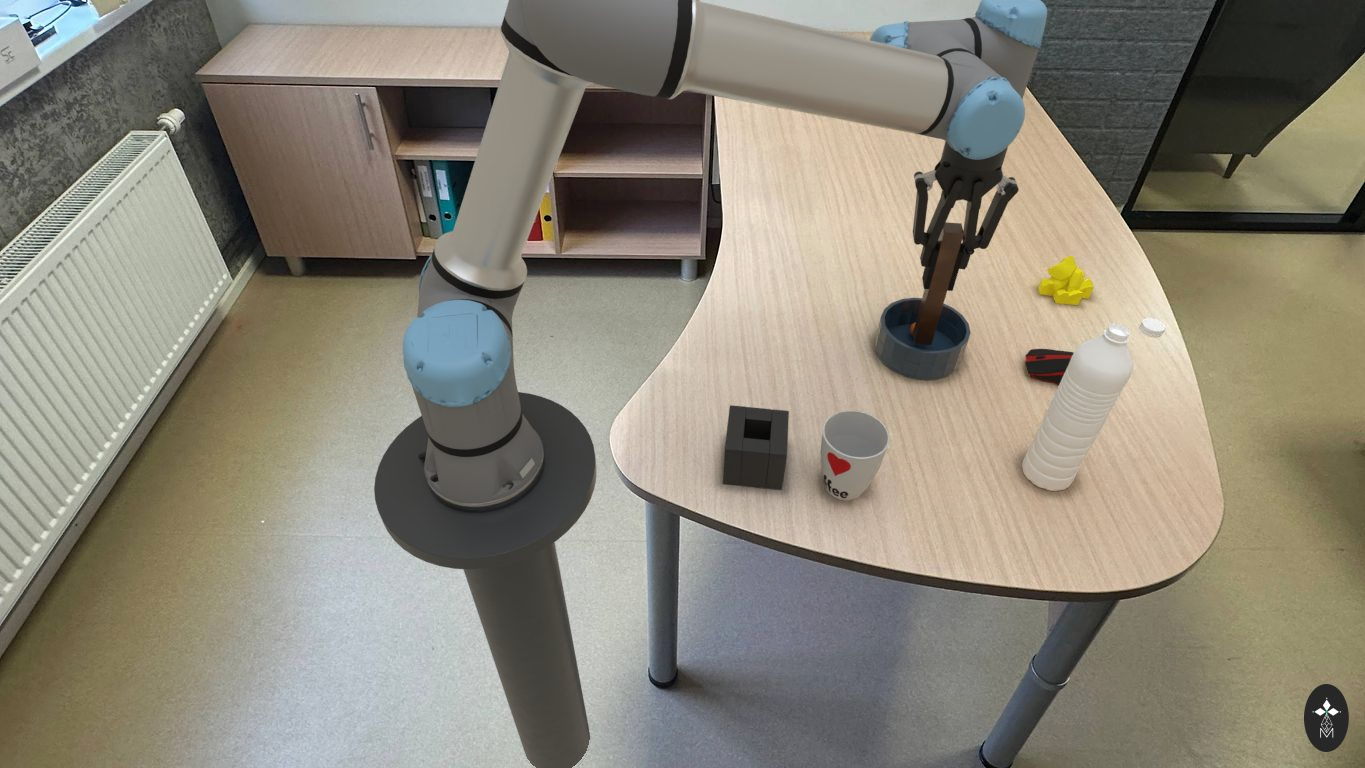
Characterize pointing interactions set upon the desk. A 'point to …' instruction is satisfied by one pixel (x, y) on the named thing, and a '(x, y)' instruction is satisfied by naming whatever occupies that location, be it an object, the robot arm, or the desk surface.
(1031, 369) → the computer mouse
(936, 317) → the stick
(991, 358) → the desk surface
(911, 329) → the bead
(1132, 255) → the desk surface
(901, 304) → the bowl
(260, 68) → the desk surface
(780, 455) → the holder
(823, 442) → the cup
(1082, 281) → the crumpled paper
